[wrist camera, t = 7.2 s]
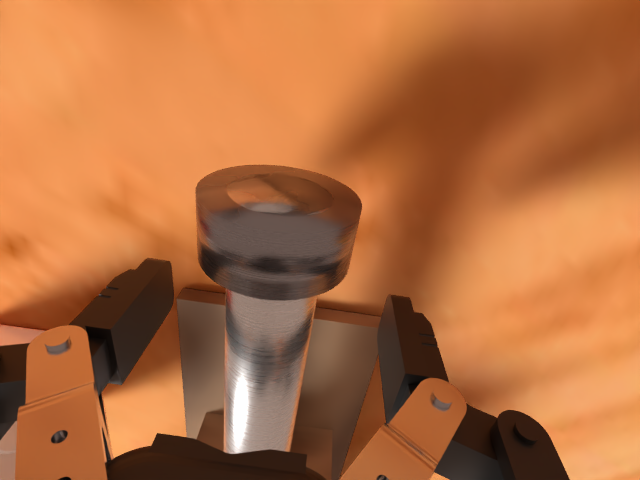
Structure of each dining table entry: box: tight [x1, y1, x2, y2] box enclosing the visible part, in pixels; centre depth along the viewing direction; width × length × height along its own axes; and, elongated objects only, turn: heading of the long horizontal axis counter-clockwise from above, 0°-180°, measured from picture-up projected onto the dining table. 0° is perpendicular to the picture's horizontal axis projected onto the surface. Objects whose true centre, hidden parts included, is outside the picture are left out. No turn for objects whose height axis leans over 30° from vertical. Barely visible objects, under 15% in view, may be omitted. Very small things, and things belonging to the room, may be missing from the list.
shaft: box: [196, 165, 362, 454], centre depth 16 cm, size 24×5×5 cm, turn 172°
